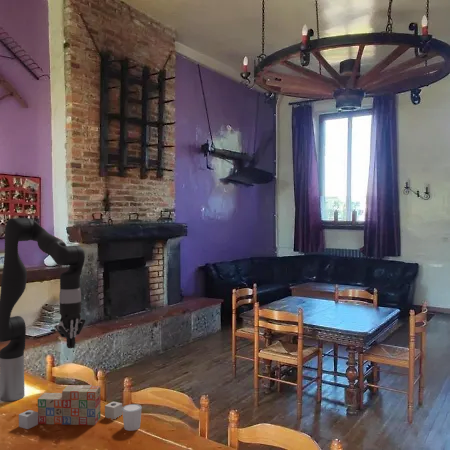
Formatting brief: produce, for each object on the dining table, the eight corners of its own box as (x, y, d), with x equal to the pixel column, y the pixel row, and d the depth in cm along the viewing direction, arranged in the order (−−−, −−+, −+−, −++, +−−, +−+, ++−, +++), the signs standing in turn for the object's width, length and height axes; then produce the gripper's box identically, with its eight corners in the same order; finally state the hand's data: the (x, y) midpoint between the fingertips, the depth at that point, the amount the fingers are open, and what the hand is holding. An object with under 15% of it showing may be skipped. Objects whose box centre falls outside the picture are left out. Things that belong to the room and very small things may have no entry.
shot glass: (145, 424, 169) (145, 405, 169) (135, 432, 163) (135, 412, 163) (128, 421, 172) (128, 402, 171) (118, 429, 165) (118, 410, 165)
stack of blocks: (37, 424, 170) (36, 390, 170) (44, 417, 176) (44, 384, 176) (95, 425, 169) (95, 391, 169) (101, 418, 175) (100, 385, 175)
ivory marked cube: (104, 417, 175) (104, 405, 175) (113, 413, 179) (113, 401, 179) (114, 420, 173) (114, 407, 173) (122, 415, 177) (122, 403, 177)
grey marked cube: (18, 426, 168) (18, 414, 168) (29, 422, 172) (29, 409, 172) (27, 429, 166) (27, 416, 166) (38, 424, 170) (37, 411, 170)
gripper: (76, 296, 179) (76, 342, 180) (48, 302, 168) (49, 351, 168) (91, 298, 176) (91, 344, 176) (63, 304, 164) (64, 353, 165)
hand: (70, 347), depth 172 cm, fingers closed
